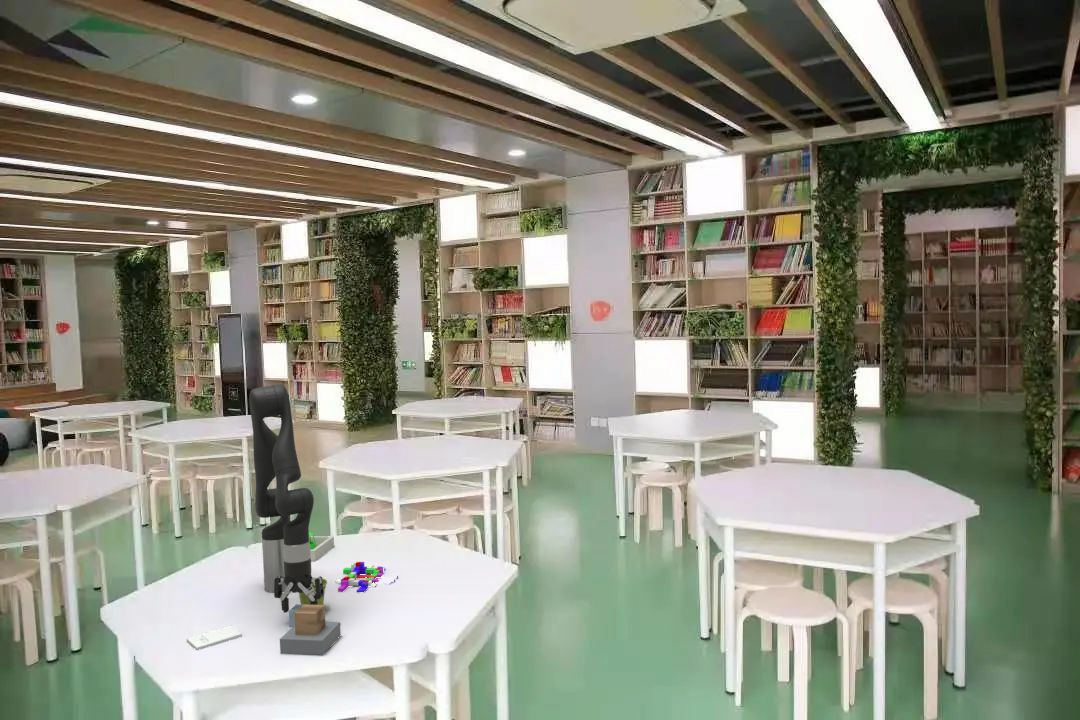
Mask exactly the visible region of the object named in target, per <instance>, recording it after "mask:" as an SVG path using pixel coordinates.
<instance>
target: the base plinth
mask: <svg viewBox="0 0 1080 720" xmlns="http://www.w3.org/2000/svg"><path fill="white" fill-rule="evenodd" d="M325 624H326V626H325V627H324V628H323V629H322V630H321V631H320V632H319V633H318V634H317V635H295V626H293V627H292V628H290V629H289V630H288V631H287V632H286V633H284V635H282V636H281V637H280V638H279V651H280V652H279V653H280V654H282V655H283V654H286V655H305V656H306V655H308V656H324V655H325V654H324V653H325V652H328V651H329V650H330V648H331V647H332V646H333V645H334V644H335V643H336V642H337V641H338V640H339V639H338V637H339V636H340V635H341V633H342V632H341V622H340V621H325ZM341 636H342V635H341ZM341 636H340V637H341ZM340 637H339V638H340ZM337 639H338V640H337ZM336 640H337V641H336ZM335 641H336V642H335ZM334 642H335V643H334ZM333 643H334V644H333ZM332 644H333V645H332ZM331 645H332V646H331ZM330 646H331V647H330Z"/></svg>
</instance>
